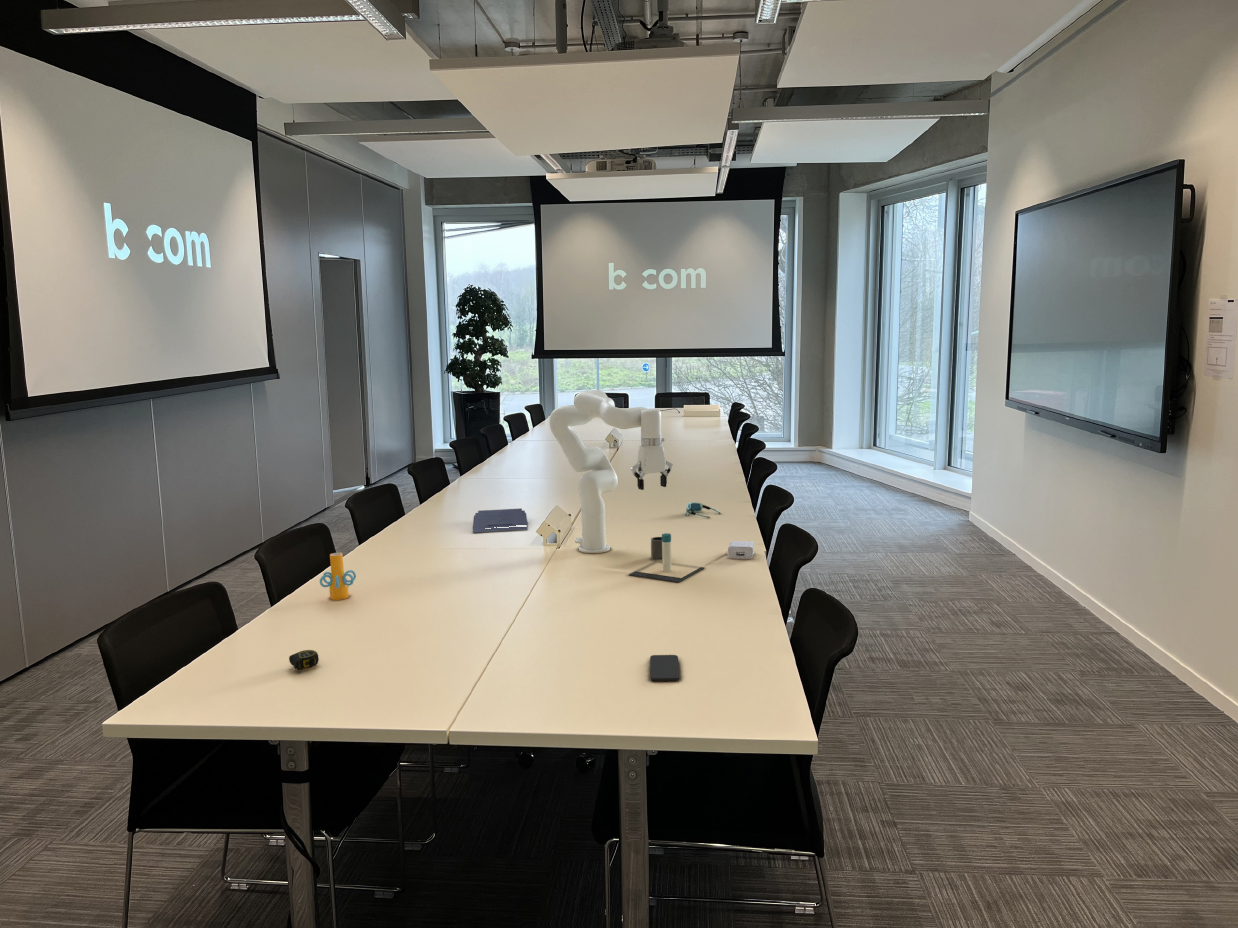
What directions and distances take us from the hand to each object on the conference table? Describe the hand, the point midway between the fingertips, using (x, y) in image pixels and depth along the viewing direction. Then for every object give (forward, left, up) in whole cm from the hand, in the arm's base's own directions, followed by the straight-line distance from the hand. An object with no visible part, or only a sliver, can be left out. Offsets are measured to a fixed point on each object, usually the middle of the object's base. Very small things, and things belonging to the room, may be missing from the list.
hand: (652, 487), depth 316 cm
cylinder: (-73, -86, -28) cm, 116 cm away
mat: (+11, -10, -28) cm, 32 cm away
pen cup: (0, +4, -28) cm, 29 cm away
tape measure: (-32, -133, -28) cm, 140 cm away
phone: (+53, -89, -28) cm, 107 cm away
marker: (+11, -10, -28) cm, 32 cm away
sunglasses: (-20, +82, -28) cm, 89 cm away
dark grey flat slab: (-94, +24, -28) cm, 101 cm away
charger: (+25, +25, -28) cm, 45 cm away
